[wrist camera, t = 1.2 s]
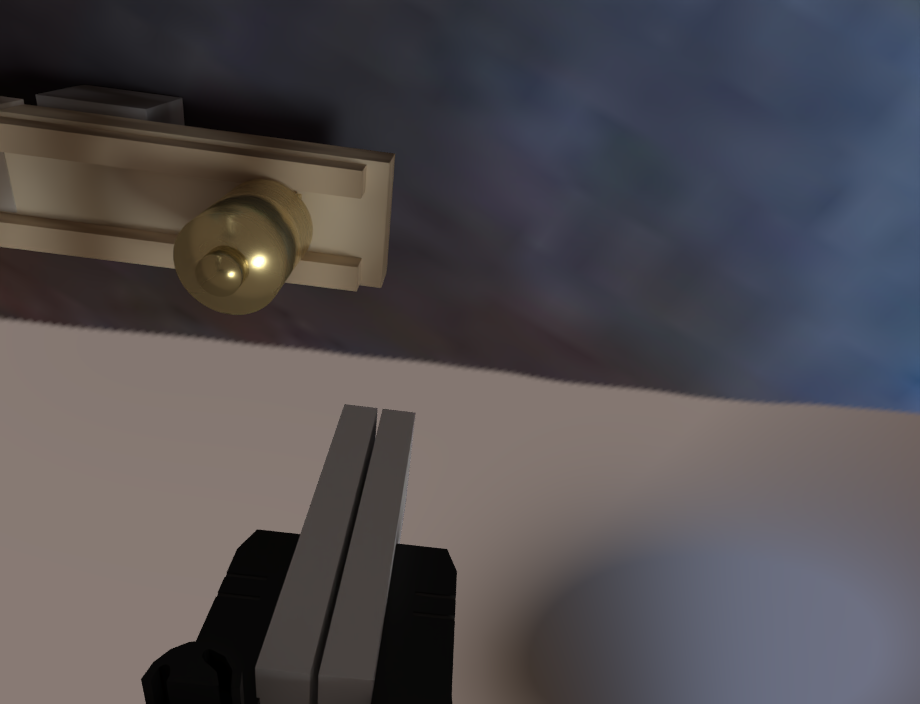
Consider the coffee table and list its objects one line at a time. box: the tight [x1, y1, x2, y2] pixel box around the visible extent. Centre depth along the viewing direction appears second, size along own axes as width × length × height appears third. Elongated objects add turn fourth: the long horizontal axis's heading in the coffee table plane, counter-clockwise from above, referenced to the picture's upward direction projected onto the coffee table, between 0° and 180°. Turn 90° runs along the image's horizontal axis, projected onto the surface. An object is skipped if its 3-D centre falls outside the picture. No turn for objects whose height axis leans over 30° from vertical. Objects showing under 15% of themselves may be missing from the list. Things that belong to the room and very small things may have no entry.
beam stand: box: [0, 85, 395, 291], centre depth 31 cm, size 28×7×7 cm, turn 83°
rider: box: [173, 179, 313, 315], centre depth 26 cm, size 4×4×7 cm
